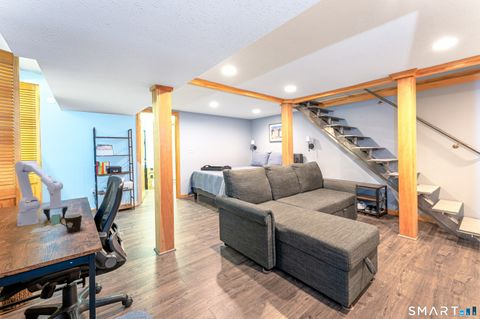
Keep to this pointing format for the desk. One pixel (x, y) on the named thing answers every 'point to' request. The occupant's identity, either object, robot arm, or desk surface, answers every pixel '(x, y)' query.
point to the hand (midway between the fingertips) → (56, 219)
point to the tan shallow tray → (49, 223)
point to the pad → (41, 229)
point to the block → (56, 219)
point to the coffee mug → (72, 223)
